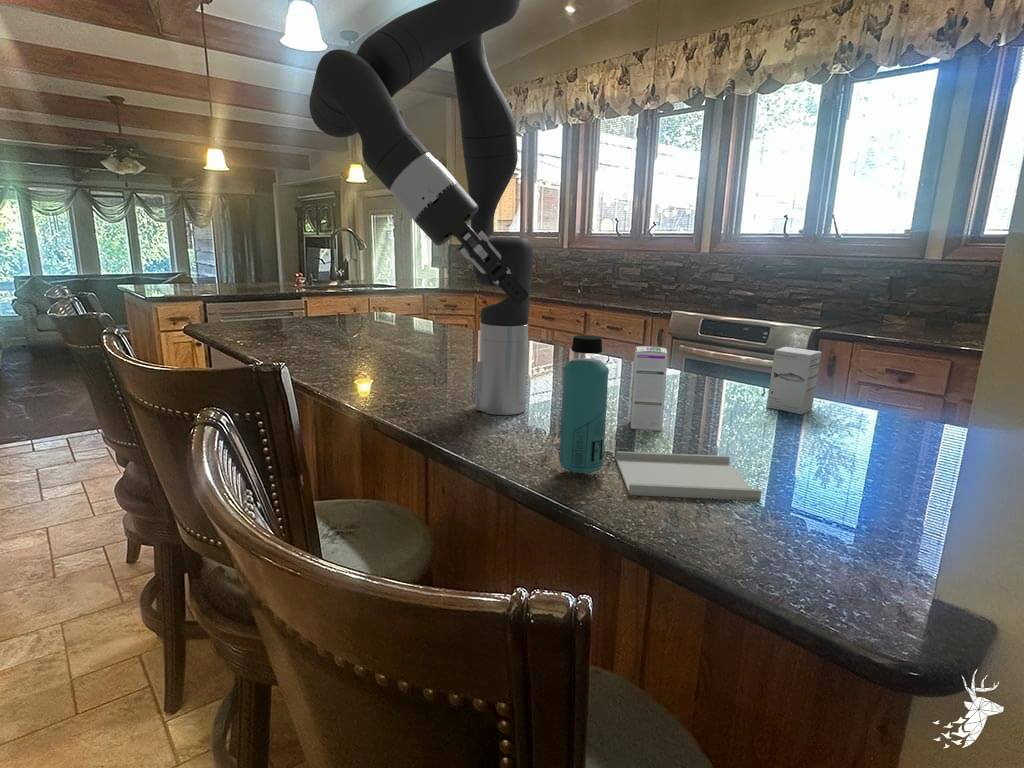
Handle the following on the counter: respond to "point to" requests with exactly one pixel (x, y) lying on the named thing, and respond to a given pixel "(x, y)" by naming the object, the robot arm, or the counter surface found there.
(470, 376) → the counter surface
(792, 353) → the supplement box
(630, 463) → the panel with raised edges
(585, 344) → the beverage bottle
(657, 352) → the syrup box
